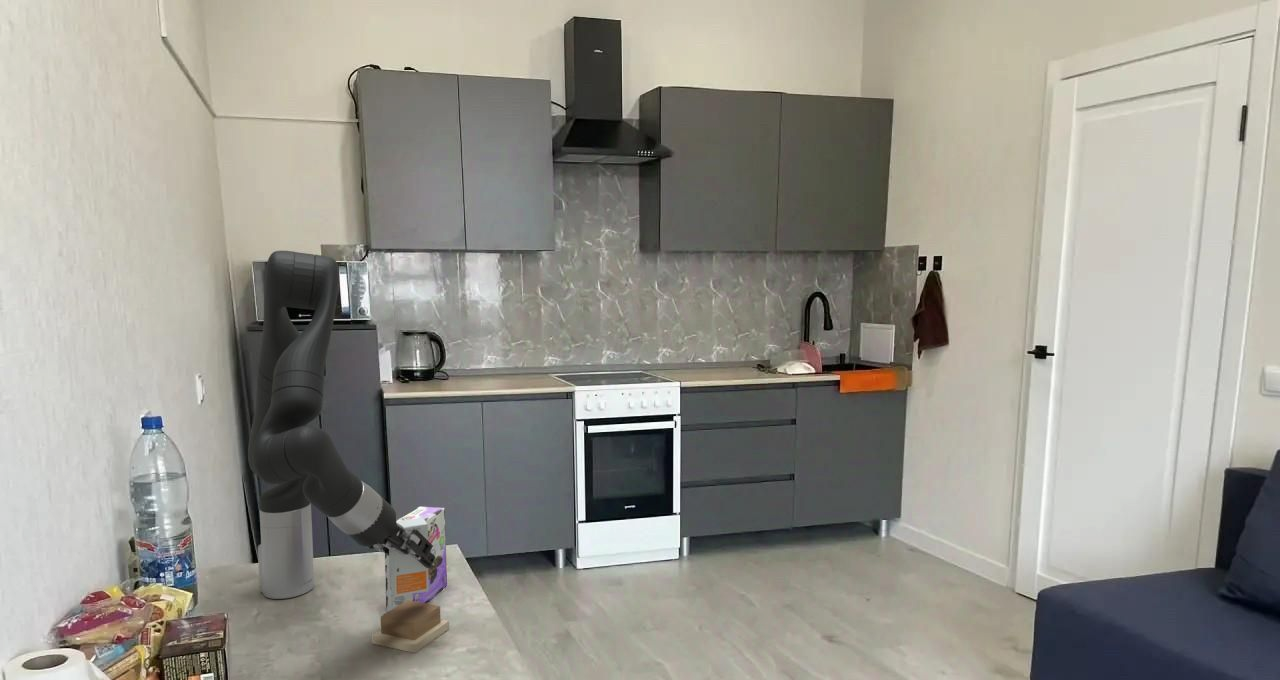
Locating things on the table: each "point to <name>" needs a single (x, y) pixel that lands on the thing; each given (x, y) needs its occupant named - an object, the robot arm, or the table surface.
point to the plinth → (408, 642)
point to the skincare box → (408, 565)
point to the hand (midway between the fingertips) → (415, 559)
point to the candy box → (438, 540)
